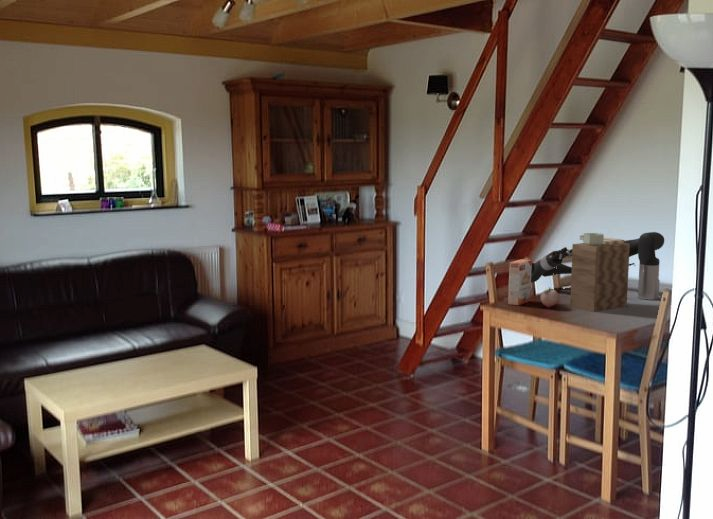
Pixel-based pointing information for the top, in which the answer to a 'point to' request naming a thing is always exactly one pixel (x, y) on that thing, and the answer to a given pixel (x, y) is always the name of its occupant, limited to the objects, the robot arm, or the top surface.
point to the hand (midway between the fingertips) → (572, 248)
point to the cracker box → (519, 282)
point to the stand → (599, 276)
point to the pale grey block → (593, 239)
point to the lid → (608, 240)
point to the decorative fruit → (549, 297)
